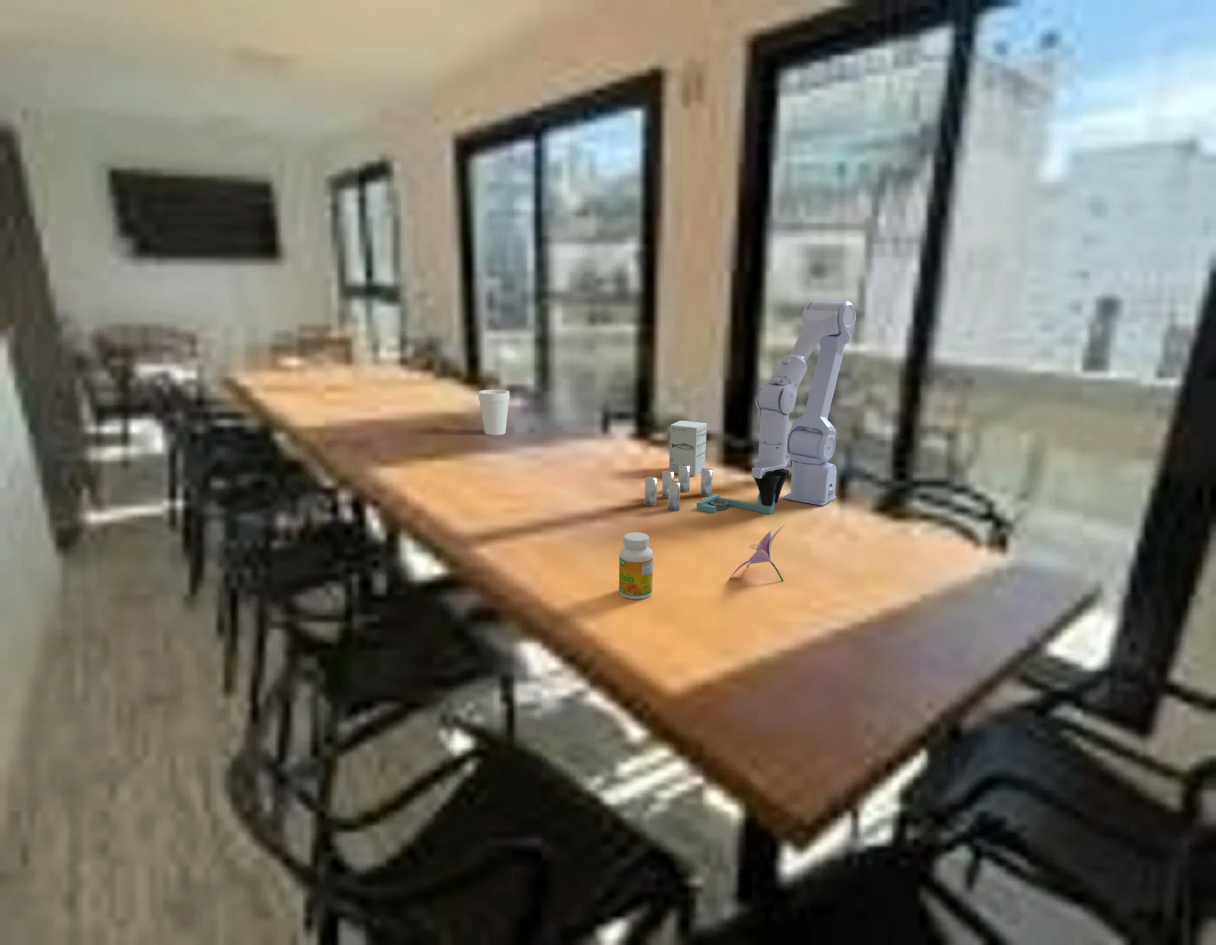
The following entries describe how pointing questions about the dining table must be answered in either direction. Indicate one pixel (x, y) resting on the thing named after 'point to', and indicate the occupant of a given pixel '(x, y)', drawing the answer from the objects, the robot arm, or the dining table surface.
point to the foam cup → (494, 410)
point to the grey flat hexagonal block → (720, 504)
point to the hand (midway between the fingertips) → (769, 503)
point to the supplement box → (687, 446)
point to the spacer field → (676, 486)
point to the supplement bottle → (635, 567)
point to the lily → (762, 552)
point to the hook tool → (735, 504)
